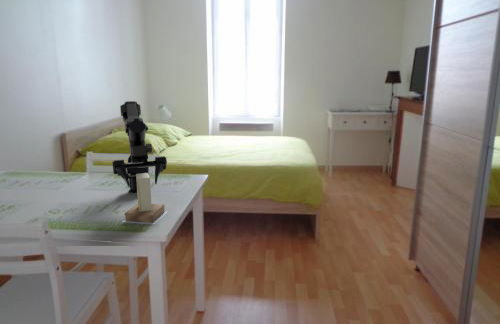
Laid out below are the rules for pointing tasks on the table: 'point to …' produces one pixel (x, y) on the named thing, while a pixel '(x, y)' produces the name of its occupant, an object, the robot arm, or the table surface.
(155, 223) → the plan sheet
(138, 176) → the skincare box
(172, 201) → the table surface
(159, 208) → the walnut plinth
